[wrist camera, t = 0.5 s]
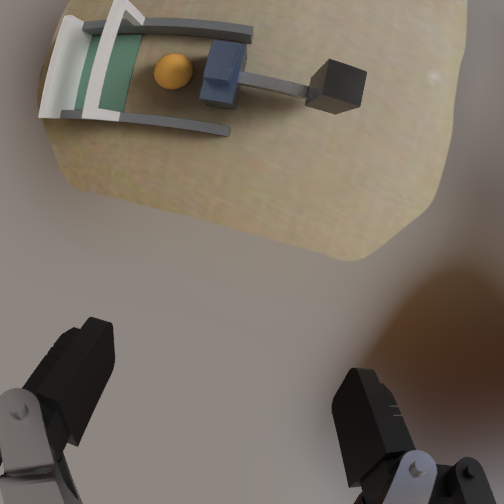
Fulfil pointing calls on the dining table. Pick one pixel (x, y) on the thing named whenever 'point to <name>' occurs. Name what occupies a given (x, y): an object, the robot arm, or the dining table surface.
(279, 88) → the striker
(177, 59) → the ball
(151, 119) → the pitch
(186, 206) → the dining table surface
